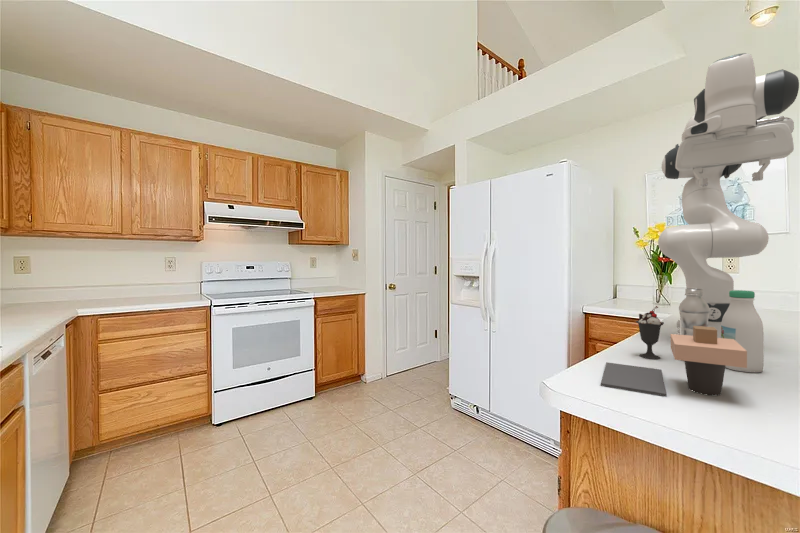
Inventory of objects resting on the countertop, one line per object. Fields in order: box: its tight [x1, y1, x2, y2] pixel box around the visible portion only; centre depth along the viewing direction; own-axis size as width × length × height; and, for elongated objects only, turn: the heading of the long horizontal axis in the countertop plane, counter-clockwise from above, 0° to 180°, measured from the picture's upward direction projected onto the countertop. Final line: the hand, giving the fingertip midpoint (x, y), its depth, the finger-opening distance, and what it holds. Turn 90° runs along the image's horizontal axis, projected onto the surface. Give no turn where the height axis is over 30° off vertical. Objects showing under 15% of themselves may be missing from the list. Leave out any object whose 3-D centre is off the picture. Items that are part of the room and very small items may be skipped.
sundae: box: [635, 305, 665, 360], centre depth 99 cm, size 7×7×15 cm
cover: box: [670, 326, 747, 368], centre depth 74 cm, size 11×11×6 cm
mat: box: [600, 362, 667, 397], centre depth 83 cm, size 18×12×1 cm, turn 145°
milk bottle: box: [721, 289, 765, 374], centre depth 87 cm, size 8×8×20 cm
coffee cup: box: [684, 361, 726, 396], centre depth 74 cm, size 8×8×10 cm
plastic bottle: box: [678, 288, 710, 336], centre depth 94 cm, size 6×7×20 cm
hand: (729, 183), depth 82 cm, fingers open, 8 cm apart
